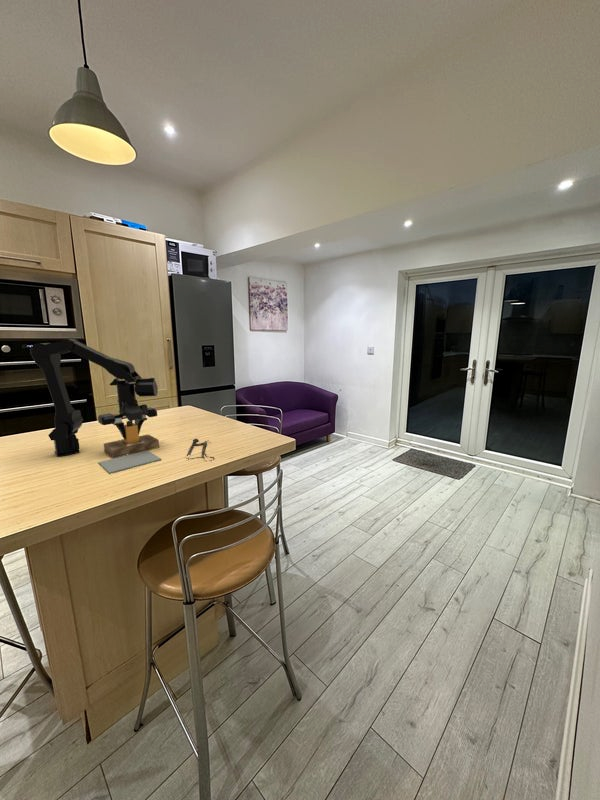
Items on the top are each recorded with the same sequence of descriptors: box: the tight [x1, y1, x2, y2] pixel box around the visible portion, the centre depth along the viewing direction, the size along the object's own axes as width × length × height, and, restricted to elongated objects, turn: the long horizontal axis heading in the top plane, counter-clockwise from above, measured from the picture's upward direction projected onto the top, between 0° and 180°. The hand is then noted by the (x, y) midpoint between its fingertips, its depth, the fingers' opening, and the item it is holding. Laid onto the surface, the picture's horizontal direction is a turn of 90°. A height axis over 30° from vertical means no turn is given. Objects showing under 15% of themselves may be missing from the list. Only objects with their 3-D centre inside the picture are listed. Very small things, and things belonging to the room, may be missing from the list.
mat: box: [97, 450, 162, 475], centre depth 109 cm, size 16×12×1 cm
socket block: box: [103, 434, 160, 459], centre depth 121 cm, size 16×10×3 cm, turn 136°
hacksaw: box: [186, 438, 215, 462], centre depth 120 cm, size 24×10×2 cm, turn 10°
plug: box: [123, 420, 140, 445], centre depth 120 cm, size 4×4×10 cm
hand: (131, 437), depth 120 cm, fingers closed on plug, 4 cm apart
